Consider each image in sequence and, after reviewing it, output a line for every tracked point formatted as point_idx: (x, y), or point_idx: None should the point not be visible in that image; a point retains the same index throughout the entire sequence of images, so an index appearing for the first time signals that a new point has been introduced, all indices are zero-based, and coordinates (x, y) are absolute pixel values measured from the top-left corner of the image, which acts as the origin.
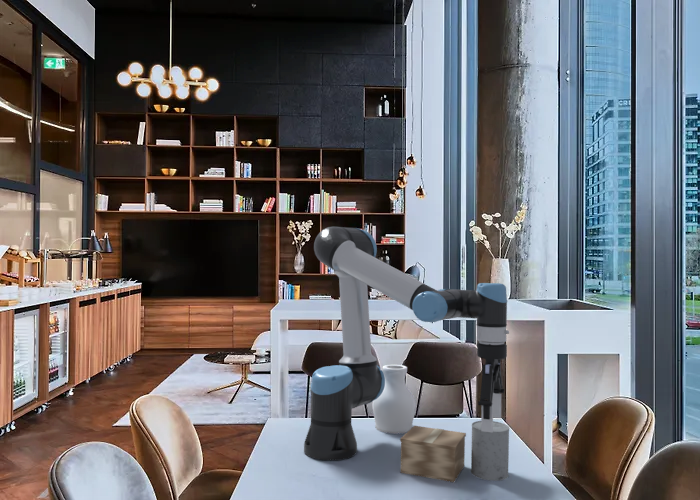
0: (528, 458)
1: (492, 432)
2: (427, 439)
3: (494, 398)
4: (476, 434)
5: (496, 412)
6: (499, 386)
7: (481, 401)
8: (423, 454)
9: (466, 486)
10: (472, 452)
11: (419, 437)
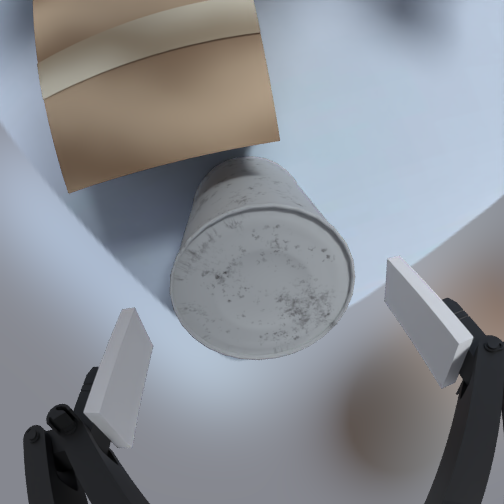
0: (410, 256)
1: (184, 327)
2: (69, 56)
3: (437, 340)
4: (181, 245)
5: (398, 299)
6: (449, 434)
7: (28, 444)
8: None
9: (117, 198)
10: (209, 188)
11: (78, 16)
